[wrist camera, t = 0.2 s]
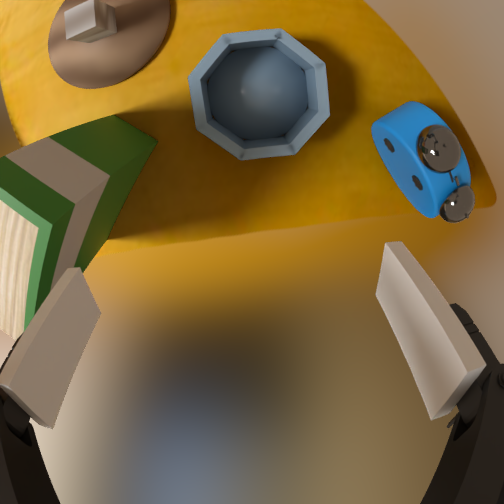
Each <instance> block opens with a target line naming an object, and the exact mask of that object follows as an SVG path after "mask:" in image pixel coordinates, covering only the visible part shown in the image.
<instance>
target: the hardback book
mask: <svg viewBox="0 0 504 504" xmlns="http://www.w3.org/2000/svg"><path fill="white" fill-rule="evenodd" d="M157 142H158V141H157V140H155V139H154V138H152V137H150V136H149V135H147V134H146V133H144V132H142V131H141V130H139V129H137V128H136V127H134V126H132V125H130V124H129V123H127V122H125V121H124V120H122V119H120V118H119V117H117V116H115V115H111V116H107V117H104V118H100V119H97V120H94V121H91V122H88V123H85V124H82V125H79V126H76V127H73V128H70V129H67V130H64V131H62V132H59V133H56V134H54V135H51V136H49V137H46V138H44V139H41V140H39V141H36V142H34V143H32V144H29V145H27V146H25V147H22V148H20V149H18V150H16V151H14V152H12V153H9V154H7V155H5V156H3V157H1V158H0V329H1V330H2V331H4V332H5V333H6V334H7V335H9V336H10V337H12V338H13V339H14V340H17V338H18V337H19V336H20V335H21V334H22V333H23V332H24V331H25V330H26V328H27V327H28V325H29V323H30V322H31V320H32V319H33V317H34V316H35V314H36V312H37V311H38V309H39V308H40V306H41V305H42V303H43V302H44V301H45V299H46V298H47V296H48V295H49V293H50V292H51V290H52V289H53V288H54V286H55V285H56V283H57V282H58V281H59V279H60V278H61V277H62V275H63V274H64V272H65V271H66V270H67V268H78V267H80V268H81V271H82V273H83V272H84V271H85V269H86V268H87V266H88V265H89V263H90V262H91V261H92V259H93V258H94V256H95V255H96V254H97V252H98V251H99V250H100V248H101V247H102V246H103V244H104V243H105V242H106V240H107V238H108V236H109V234H110V232H111V229H112V227H113V225H114V223H115V221H116V219H117V217H118V215H119V213H120V211H121V208H122V206H123V204H124V202H125V200H126V198H127V197H128V195H129V193H130V191H131V189H132V187H133V185H134V183H135V181H136V179H137V178H138V176H139V174H140V172H141V170H142V168H143V167H144V165H145V163H146V161H147V160H148V158H149V156H150V154H151V153H152V151H153V149H154V148H155V146H156V144H157Z"/></svg>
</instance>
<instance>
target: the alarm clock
mask: <svg viewBox="0 0 504 504" xmlns="http://www.w3.org/2000/svg"><path fill="white" fill-rule="evenodd" d="M372 137H373V140H374V143H375V145H376V148H377V150H378V152H379V154H380V156H381V158H382V160H383V162H384V164H385V166H386V167H387V169H388V171H389V172H390V174H391V176H392V177H393V179H394V180H395V182H396V183H397V185H398V186H399V188H400V189H401V191H402V192H403V193H404V195H405V196H406V197H407V199H408V200H409V201H410V202H411V203H412V205H413V206H414V207H415V208H416V209H417V210H418V211H419V212H420V213H422V214H423V215H425V216H426V217H429V218H434V217H436V216H438V215H439V214H440V216H441V217H442V218H443V219H444V220H446V221H447V222H450V223H457V222H460V221H462V220H464V219H465V218H469V215H470V213H471V211H472V210H473V207H474V204H475V196H474V192H473V190H472V189H471V187H470V184H471V176H470V170H469V166H468V162H467V159H466V156H465V154H464V151H463V149H462V147H461V145H460V143H459V141H458V139H457V137H456V136H455V134H454V133H453V132H452V131H451V129H450V128H449V127H448V125H447V124H446V123H445V122H444V121H443V120H442V119H441V118H440V117H439V116H438V115H437V114H436V113H435V112H434V111H433V110H431V109H430V108H428V107H427V106H425V105H423V104H421V103H419V102H414V101H410V102H407V103H405V104H403V105H401V106H400V107H398V108H396V109H395V110H393V111H391V112H390V113H388V114H386V115H385V116H383V117H381V118H380V119H378V120H376V121H375V122H374V123H373V124H372Z"/></svg>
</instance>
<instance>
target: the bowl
mask: <svg viewBox="0 0 504 504" xmlns="http://www.w3.org/2000/svg"><path fill="white" fill-rule="evenodd" d="M271 47H273V48H271ZM274 48H275V49H274ZM232 51H234V52H232ZM231 52H232V53H231ZM303 71H304V72H303ZM209 78H210V79H209ZM208 80H209V82H208ZM188 82H189V88H190V94H191V101H192V107H193V113H194V119H195V125H196V130H198V131H199V132H201V133H202V134H204V135H205V136H207V137H208V138H209V139H211V140H212V141H214V142H215V143H217V144H218V145H220V146H221V147H222V148H224V149H225V150H227V151H228V152H229V153H231V154H232V155H234V156H235V157H236V158H238V159H239V160H249V159H258V158H267V157H276V156H287V155H295V154H296V153H297V152H298V151H299V150H300V148H301V147H302V146H303V145H304V144H305V143H306V142H307V141H308V139H309V138H310V137H311V136H312V135H313V134H314V133H315V132H316V130H317V129H318V128H319V127H320V126H321V125H322V124H323V123H324V122H325V120H326V119H327V118H328V117H329V116H330V109H329V97H328V85H327V75H326V65H325V63H324V62H323V61H322V60H321V59H320V58H318V57H317V56H316V55H315V54H314V53H312V52H311V51H310V50H309V49H307V48H306V47H305V46H304V45H302V44H301V43H300V42H298V41H297V40H296V39H294V38H293V37H292V36H290V35H289V34H288V33H286V32H285V31H284V30H282V29H266V30H255V31H245V32H236V33H229V34H223V35H222V36H221V37H220V38H219V39H218V41H217V42H216V43H215V44H214V45H213V46H212V48H211V49H210V50H209V51H208V52H207V54H206V55H205V56H204V57H203V59H202V60H201V61H200V62H199V64H198V65H197V66H196V67H195V69H194V70H193V71H192V73H191V74H190V75H189V76H188ZM306 108H307V109H306ZM213 116H214V118H215V119H214V118H213ZM283 134H284V135H283ZM281 135H283V136H281ZM244 139H246V140H244Z"/></svg>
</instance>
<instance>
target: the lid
mask: <svg viewBox="0 0 504 504" xmlns="http://www.w3.org/2000/svg"><path fill="white" fill-rule="evenodd" d="M170 14H171V10H170V1H169V0H65V1H64V2H63V4H62V5H61V7H60V8H59V10H58V12H57V14H56V16H55V18H54V20H53V23H52V26H51V29H50V33H49V40H48V51H49V57H50V61H51V64H52V66H53V68H54V70H55V71H56V73H57V74H58V75H59V76H60V77H61V78H62V79H63V80H64V81H66V82H67V83H69V84H71V85H73V86H76V87H79V88H85V89H96V88H103V87H108V86H112V85H114V84H117V83H119V82H122V81H123V80H125V79H127V78H129V77H130V76H132V75H133V74H135V73H136V72H137V71H139V70H140V69H141V68H142V67H143V66H144V65H145V64H146V63H147V62H148V61H149V60H150V59H151V58H152V57H153V55H154V54H155V53H156V51H157V50H158V48H159V47H160V45H161V43H162V41H163V39H164V38H165V35H166V32H167V30H168V26H169V22H170Z"/></svg>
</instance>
